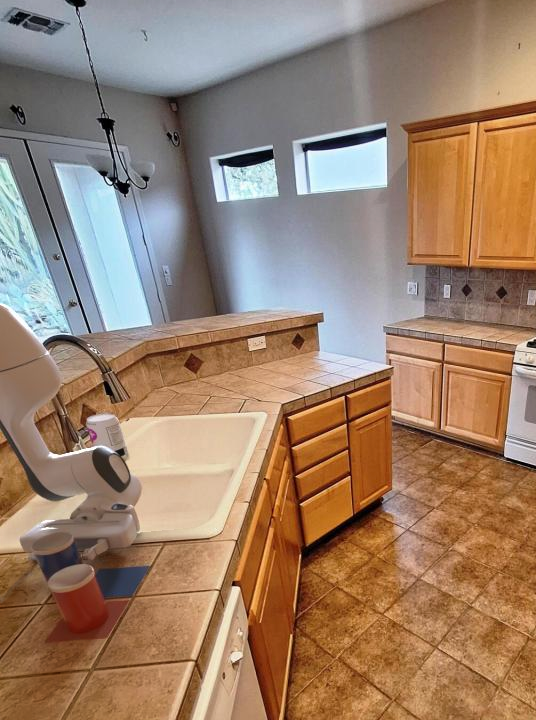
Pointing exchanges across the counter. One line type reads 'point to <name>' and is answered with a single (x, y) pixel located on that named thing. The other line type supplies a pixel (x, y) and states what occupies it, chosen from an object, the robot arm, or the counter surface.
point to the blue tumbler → (56, 553)
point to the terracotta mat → (102, 631)
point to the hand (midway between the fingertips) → (59, 559)
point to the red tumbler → (79, 598)
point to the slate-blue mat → (120, 580)
